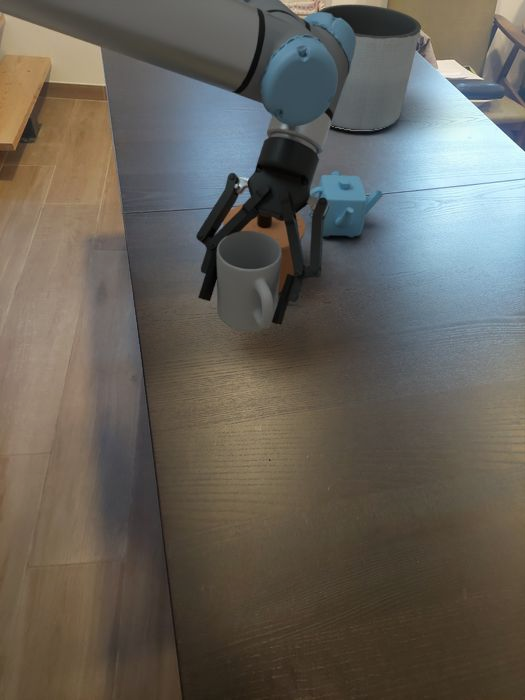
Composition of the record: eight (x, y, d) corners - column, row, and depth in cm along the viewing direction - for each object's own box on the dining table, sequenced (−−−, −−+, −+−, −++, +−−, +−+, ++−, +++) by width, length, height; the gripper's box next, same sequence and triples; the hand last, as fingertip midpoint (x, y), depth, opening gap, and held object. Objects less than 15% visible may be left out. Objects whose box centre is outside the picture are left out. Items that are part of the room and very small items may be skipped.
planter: (305, 90, 145) (315, -1, 129) (394, 99, 145) (415, 8, 128) (302, 130, 128) (313, 31, 112) (402, 140, 128) (429, 42, 111)
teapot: (300, 201, 107) (306, 155, 99) (366, 203, 107) (377, 157, 100) (309, 254, 95) (316, 207, 87) (383, 256, 95) (397, 209, 88)
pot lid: (222, 254, 79) (222, 231, 76) (223, 206, 88) (223, 184, 85) (308, 256, 80) (311, 234, 77) (300, 208, 89) (303, 186, 86)
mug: (209, 298, 75) (207, 236, 66) (263, 286, 77) (268, 225, 69) (236, 357, 67) (237, 295, 59) (295, 342, 70) (304, 281, 62)
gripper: (377, 177, 67) (322, 338, 69) (223, 138, 72) (176, 289, 74) (376, 157, 60) (315, 337, 61) (205, 115, 65) (153, 283, 66)
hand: (239, 311), depth 68 cm, fingers closed on mug, 10 cm apart
